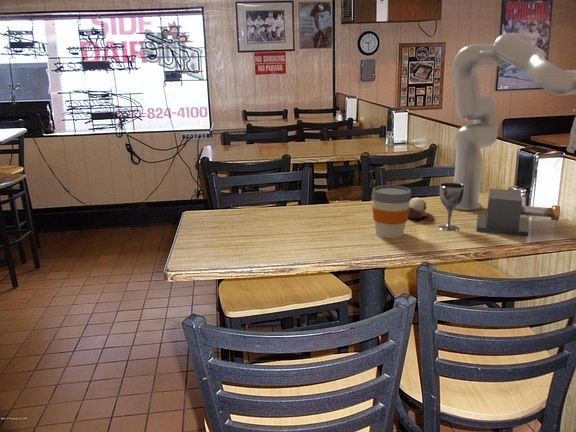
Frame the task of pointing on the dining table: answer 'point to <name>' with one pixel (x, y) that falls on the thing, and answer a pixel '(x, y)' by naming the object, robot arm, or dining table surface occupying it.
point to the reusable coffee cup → (390, 210)
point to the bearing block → (503, 214)
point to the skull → (419, 211)
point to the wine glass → (451, 201)
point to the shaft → (542, 212)
